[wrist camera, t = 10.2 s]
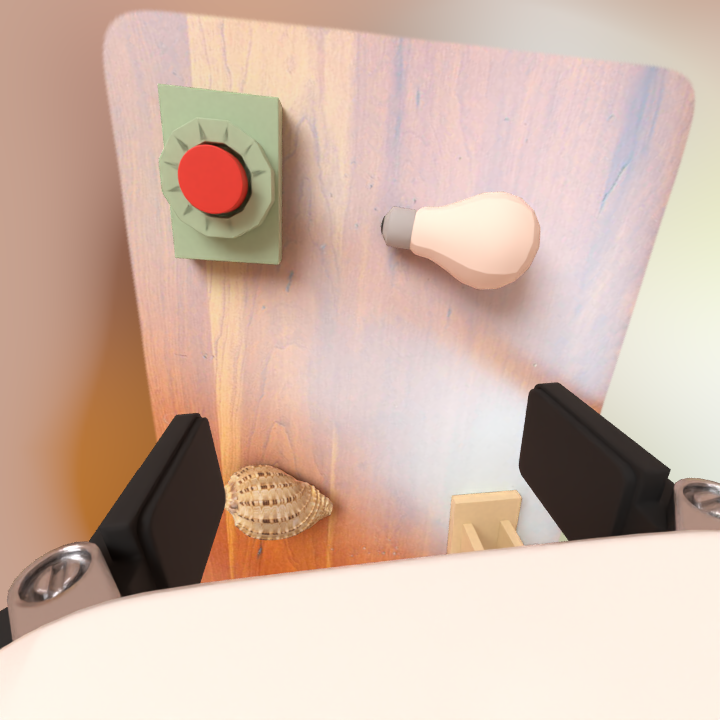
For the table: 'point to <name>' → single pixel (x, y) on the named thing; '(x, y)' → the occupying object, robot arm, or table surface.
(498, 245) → the light bulb
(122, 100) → the table surface
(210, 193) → the button
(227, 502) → the seashell
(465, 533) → the bracket
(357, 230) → the table surface
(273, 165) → the control block
